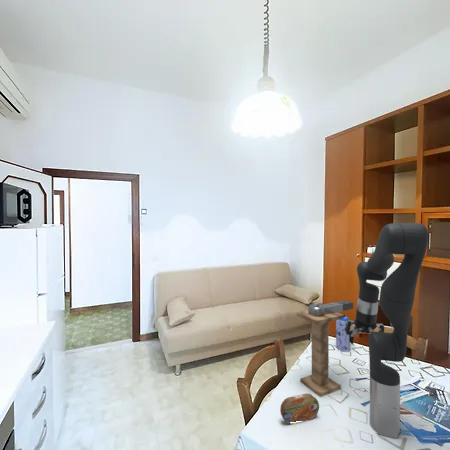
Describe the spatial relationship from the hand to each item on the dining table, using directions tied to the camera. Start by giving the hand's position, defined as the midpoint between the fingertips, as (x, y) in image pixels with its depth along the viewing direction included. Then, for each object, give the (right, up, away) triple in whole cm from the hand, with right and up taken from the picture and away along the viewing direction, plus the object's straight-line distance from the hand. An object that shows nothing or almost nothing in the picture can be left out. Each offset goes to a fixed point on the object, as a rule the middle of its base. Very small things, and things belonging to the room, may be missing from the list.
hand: (362, 344), depth 113 cm
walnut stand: (-15, -21, +7) cm, 27 cm away
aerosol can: (+10, -21, +42) cm, 48 cm away
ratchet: (-9, +11, +10) cm, 17 cm away
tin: (-30, -22, -14) cm, 40 cm away
